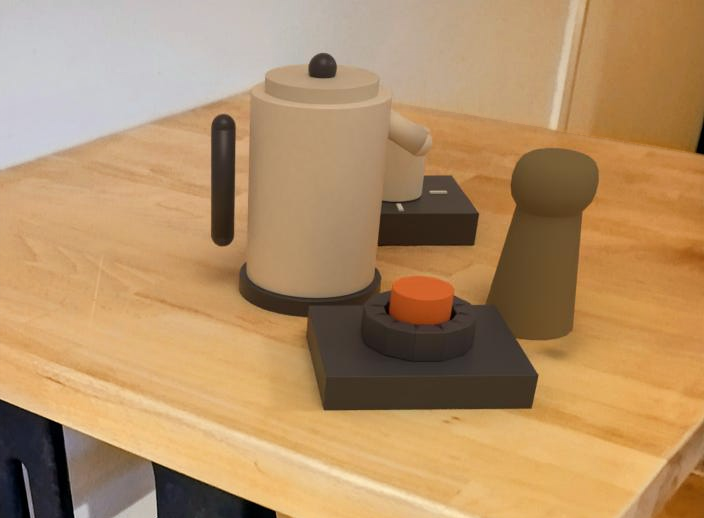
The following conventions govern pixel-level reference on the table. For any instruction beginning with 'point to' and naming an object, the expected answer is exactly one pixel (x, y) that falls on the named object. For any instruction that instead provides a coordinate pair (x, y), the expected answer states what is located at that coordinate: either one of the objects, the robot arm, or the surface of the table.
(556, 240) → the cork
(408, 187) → the knob
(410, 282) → the power button
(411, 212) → the panel
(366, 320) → the switch block
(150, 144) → the table surface
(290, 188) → the kettle
